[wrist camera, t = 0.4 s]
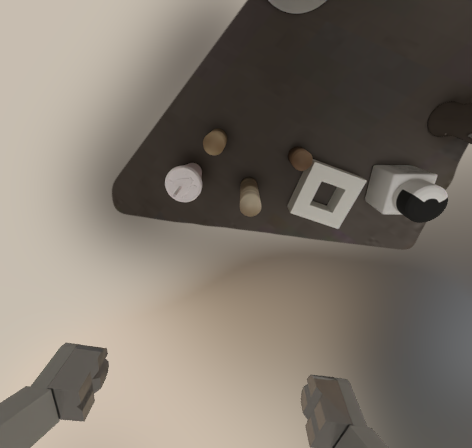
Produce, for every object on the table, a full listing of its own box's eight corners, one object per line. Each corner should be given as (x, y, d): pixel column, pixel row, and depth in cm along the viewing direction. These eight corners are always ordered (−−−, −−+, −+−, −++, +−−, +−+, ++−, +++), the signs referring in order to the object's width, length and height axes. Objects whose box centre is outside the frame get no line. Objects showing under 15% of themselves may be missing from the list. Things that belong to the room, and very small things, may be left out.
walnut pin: (292, 143, 48) (297, 148, 43) (309, 150, 48) (316, 154, 44) (285, 161, 49) (289, 167, 45) (301, 167, 50) (307, 173, 45)
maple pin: (243, 175, 51) (244, 193, 40) (259, 180, 51) (264, 200, 40) (238, 190, 52) (236, 212, 42) (253, 195, 53) (256, 219, 42)
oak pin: (211, 125, 47) (206, 129, 40) (229, 132, 47) (227, 137, 40) (206, 144, 48) (200, 151, 41) (224, 150, 49) (220, 158, 42)
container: (399, 200, 53) (445, 228, 41) (363, 200, 53) (398, 227, 41) (411, 164, 49) (464, 183, 37) (372, 164, 49) (413, 182, 38)
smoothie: (171, 168, 51) (147, 188, 38) (195, 149, 49) (178, 164, 36) (191, 192, 53) (175, 219, 40) (214, 175, 51) (205, 198, 38)
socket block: (309, 157, 49) (314, 161, 45) (358, 175, 50) (366, 180, 47) (287, 205, 54) (290, 213, 50) (331, 220, 55) (338, 228, 51)
